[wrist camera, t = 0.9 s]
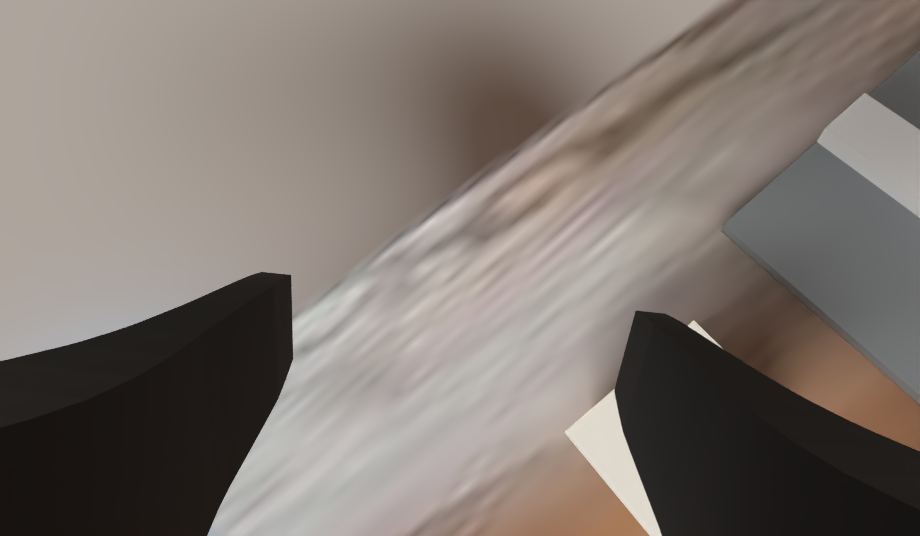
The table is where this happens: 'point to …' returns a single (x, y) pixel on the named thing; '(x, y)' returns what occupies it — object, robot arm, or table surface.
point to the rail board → (852, 226)
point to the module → (616, 454)
